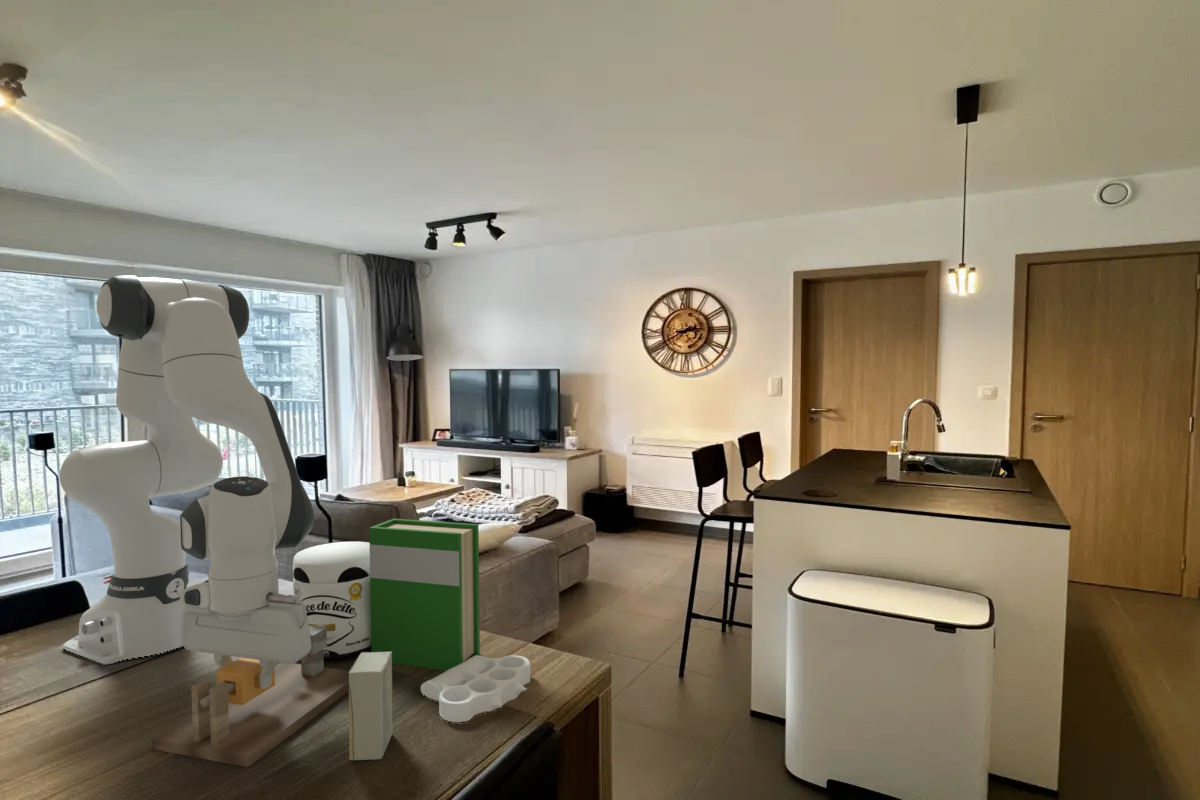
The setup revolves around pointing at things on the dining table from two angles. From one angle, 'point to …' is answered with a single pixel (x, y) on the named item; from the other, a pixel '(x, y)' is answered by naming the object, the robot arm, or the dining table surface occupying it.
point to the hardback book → (425, 592)
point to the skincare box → (370, 705)
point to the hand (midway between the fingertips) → (246, 684)
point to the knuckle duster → (478, 685)
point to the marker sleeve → (242, 679)
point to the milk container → (336, 594)
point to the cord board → (256, 711)
